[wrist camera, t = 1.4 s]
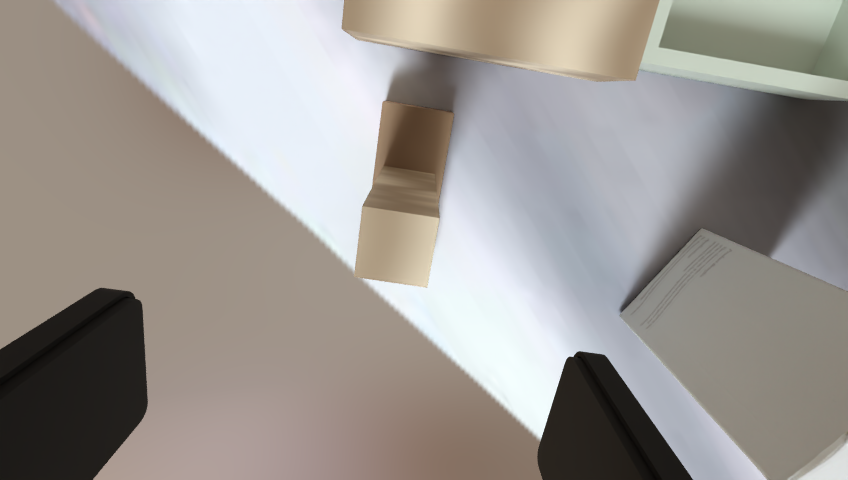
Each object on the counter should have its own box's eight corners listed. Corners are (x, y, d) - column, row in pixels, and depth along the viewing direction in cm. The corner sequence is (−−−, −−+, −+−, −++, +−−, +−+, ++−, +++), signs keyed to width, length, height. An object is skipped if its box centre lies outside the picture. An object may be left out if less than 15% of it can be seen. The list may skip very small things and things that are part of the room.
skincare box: (672, 354, 32) (870, 567, 18) (611, 311, 30) (771, 502, 16) (764, 267, 29) (1075, 433, 15) (702, 217, 28) (977, 347, 14)
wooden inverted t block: (452, 111, 26) (470, 128, 16) (425, 264, 29) (425, 361, 19) (385, 100, 26) (359, 110, 16) (366, 255, 29) (334, 348, 19)
